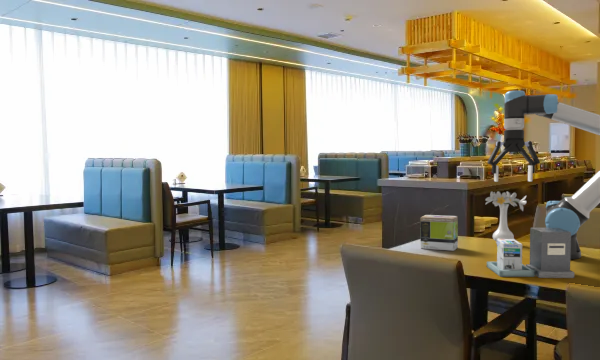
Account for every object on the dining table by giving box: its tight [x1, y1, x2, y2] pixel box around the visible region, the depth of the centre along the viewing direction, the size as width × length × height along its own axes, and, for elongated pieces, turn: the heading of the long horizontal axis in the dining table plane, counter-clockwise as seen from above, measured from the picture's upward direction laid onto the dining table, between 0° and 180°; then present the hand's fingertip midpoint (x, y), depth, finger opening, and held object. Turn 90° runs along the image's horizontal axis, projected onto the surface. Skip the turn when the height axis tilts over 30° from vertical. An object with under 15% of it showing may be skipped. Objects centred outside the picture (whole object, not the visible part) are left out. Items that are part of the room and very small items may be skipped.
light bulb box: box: [496, 238, 523, 270], centre depth 188 cm, size 11×7×11 cm, turn 171°
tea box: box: [419, 214, 459, 252], centre depth 232 cm, size 15×10×15 cm, turn 62°
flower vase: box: [485, 191, 527, 245], centre depth 241 cm, size 13×18×25 cm
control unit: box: [525, 227, 575, 279], centre depth 184 cm, size 12×12×16 cm
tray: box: [486, 261, 536, 278], centre depth 188 cm, size 12×15×2 cm
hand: (513, 181), depth 209 cm, fingers open, 13 cm apart
